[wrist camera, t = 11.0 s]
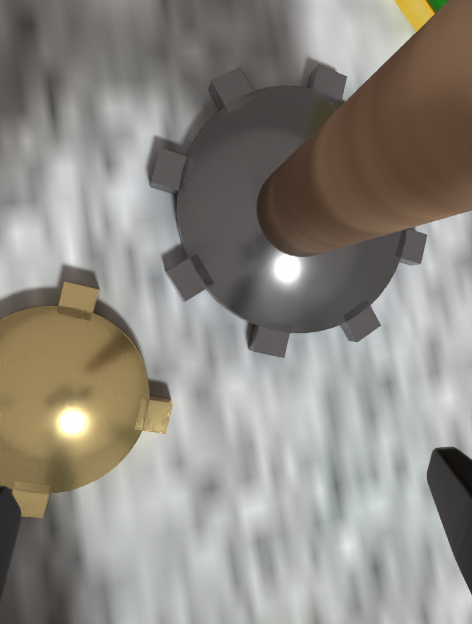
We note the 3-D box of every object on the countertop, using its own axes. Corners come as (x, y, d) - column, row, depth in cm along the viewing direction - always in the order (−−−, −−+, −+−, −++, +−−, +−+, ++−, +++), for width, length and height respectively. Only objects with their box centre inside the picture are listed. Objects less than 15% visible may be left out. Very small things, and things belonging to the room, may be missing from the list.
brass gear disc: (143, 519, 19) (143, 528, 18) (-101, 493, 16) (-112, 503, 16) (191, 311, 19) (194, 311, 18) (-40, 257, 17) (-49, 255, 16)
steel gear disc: (386, 379, 22) (396, 382, 21) (118, 321, 18) (117, 321, 18) (440, 126, 22) (451, 120, 22) (189, 23, 19) (191, 11, 18)
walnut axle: (293, 275, 20) (579, 221, 7) (237, 199, 19) (442, -16, 6) (358, 221, 20) (721, 84, 8) (307, 146, 20) (615, -142, 7)
